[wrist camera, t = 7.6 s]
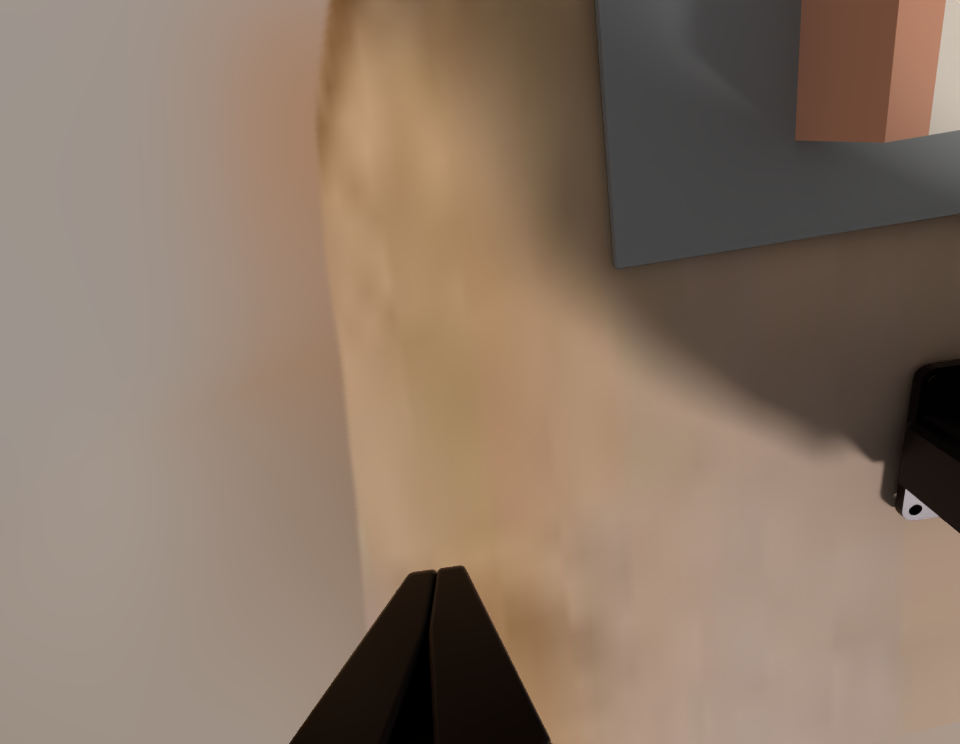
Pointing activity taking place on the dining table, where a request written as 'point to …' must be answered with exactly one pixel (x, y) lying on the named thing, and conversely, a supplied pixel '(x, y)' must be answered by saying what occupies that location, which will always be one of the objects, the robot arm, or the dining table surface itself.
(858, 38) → the tall block
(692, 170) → the rubber mat
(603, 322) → the dining table surface
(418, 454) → the dining table surface
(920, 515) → the robot arm
